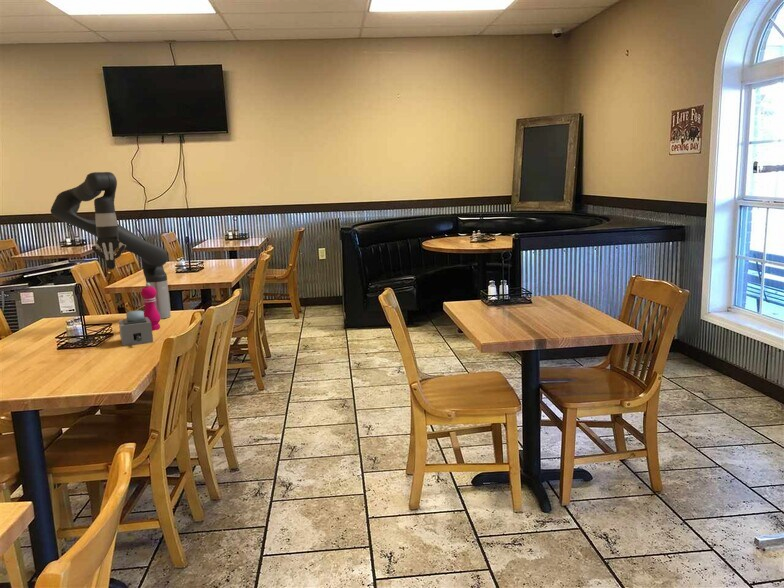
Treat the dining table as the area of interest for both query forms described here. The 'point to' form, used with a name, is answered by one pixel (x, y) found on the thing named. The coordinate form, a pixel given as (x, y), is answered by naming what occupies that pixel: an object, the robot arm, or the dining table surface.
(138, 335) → the plunger
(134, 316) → the peg
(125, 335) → the grey block
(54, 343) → the dining table surface
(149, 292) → the pepper mill
